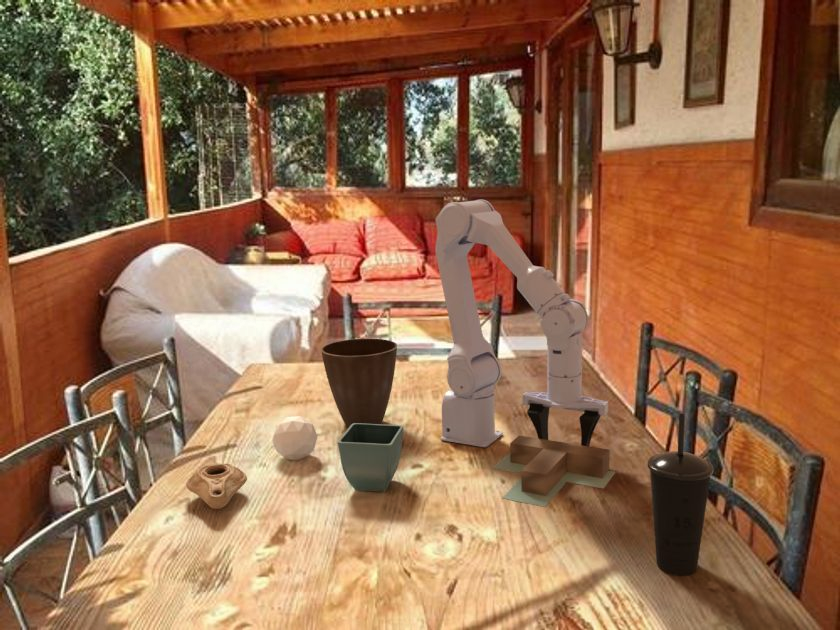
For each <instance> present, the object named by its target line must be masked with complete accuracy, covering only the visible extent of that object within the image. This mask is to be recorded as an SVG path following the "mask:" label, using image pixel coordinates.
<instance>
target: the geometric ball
mask: <svg viewBox="0 0 840 630" xmlns="http://www.w3.org/2000/svg"><path fill="white" fill-rule="evenodd" d="M317 441H318V434H317V431H316V429H315V426H314V423H311V422H310V421H309V420H308V419H306V418H304V417H303V416H302V415H301V416H286V417H285V418H284V419H283V420H281V421H280V422H279V423H278V424H276V425H275V428H274V432H273V435H272V443H273V447H274V449H275V451H276V452H277V453H278V454H279V455H280V456H282V458H283V457H284V458H285V459H287V460H289V459H290V460H289V461H299V459H300V460H303V458H304V459H305V458H307V457H308V456H309V455H310V454H312V452H315V447H316V443H317Z"/></svg>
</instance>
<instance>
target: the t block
mask: <svg viewBox="0 0 840 630" xmlns="http://www.w3.org/2000/svg"><path fill="white" fill-rule="evenodd" d="M509 449H510V452H509V454H510V462H511V463H517V464H523V465H526V466H525V467H524V468H523V469H522V470H521V478H520V479H521V484H522V491H523V492H528V493H533V494H538V495H543V496H546V495H547V494H548V493H549V492H550V491H551V490H552V488H553V487H554V486H555V485H556V484H557V483H558V482H559V480H560V479H561V478H562V477H563V476H564V475H565V474H566V472H568V473H574V474H580V475H585V476H591V477H597V478H602V479H603V477H604V476H605V475H606V473H607V472H608V471H610V460H611V459H610V458H611V457H610V453H611V450H610V449H608V448H602V447H595V446H590V445H589V446H583V445H581V444H575V443H569V442H562V441H558V440H557V441H556V440H552V439H551V440H550V439H548V440H545V439H538V437H531V436H524V435H517V437H516V438H514V439H513V440H512V441H510V443H509Z"/></svg>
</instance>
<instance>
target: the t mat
mask: <svg viewBox="0 0 840 630" xmlns="http://www.w3.org/2000/svg"><path fill="white" fill-rule="evenodd" d="M525 466H526V465H523V464H517V463H511V462H510V453H508V454H506V455H505V456H504V457H503V458H502V459H501V460H499V461H498V462H497V463H496V464H495V465H493V466H492V469H495V470H499V471H505V472H510V473H516V474H521V470H522V469H523V468H524V467H525ZM615 474H616V471H613V470H609V471H608V472H607V473H606V475H605V476H604V477H603V479H602V478H597V477H591V476H585V475H580V474H574V473H568V472H566V474H565V475H564V476H563V477H562V478H561V479H560V480H559V482H558V483H557V484H556V485H555V486H554V487H553V488H552V490H551V491H550V492H549V493H548V494H547V495H546V496H543V495H538V494H533V493H528V492H523V491H522V484H521V478H520V479H519V480H518V481H517V482H516V483H515V484H514V485H513V486H512V487H511V488H510V489H509V490H508V491H507V492H506V493H505V494H504V495H503V496H502V497H501V499H503V500H509V501H512V502H513V501H514V502H518V503H523V504H527V505H532V506H537V507H541V508H542V507H543V508H546V507H547V505H549V503H550V502H551V500H553V499H554V498H555V496H556V495H557V494H559V492H560V490H562V488H563V487H564V486H565V485H566V484H567V483H570V484H571V483H572V484H576V485H582V486H587V487H592V488H596V489H597V488H598V489H603V490H604V489H605V487H607V485H608V483H609V482H610V481H611V479H612V478H613V476H615Z"/></svg>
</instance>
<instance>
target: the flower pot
mask: <svg viewBox="0 0 840 630" xmlns="http://www.w3.org/2000/svg"><path fill="white" fill-rule="evenodd" d="M403 435H404V425H402V424H401V425H398V424H383V423H382V424H364V423H353V424H352V425H351V426H350V427H349V428H348V427H347V430H346V431H345V432H344V433H343V434H342V435H341V437H340V438H339V439H338V440H337V447H338V452H339V456H340V457H339V458H340V463H341V469H342V471H343V473H344V476H345V478H346V480H347V481H348V483H349V485H350V486H351V487H352V488H353V489H354V490H356V491H366V492H367V491H370V492H381V493H382V492H385V491H387V489H388V487H389V485H390V483H391V482H392V481H393V478H394V476H395V474H396V472H397V470H398V467H399V464H400V462H401V461H400V460H401V458H402V457H401V456H402V449H403V439H404V437H403Z"/></svg>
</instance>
